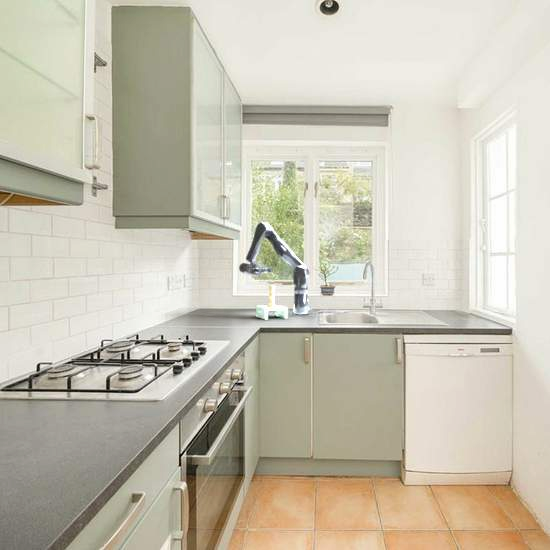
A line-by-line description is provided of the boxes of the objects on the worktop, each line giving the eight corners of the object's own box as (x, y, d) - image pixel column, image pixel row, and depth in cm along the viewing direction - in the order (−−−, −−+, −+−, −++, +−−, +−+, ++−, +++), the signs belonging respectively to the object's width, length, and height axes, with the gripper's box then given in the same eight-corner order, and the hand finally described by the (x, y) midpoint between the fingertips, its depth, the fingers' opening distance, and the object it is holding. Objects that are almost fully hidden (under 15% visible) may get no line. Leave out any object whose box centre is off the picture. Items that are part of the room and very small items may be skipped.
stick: (273, 306, 303) (273, 284, 302) (277, 307, 298) (277, 285, 297) (266, 306, 301) (266, 284, 300) (269, 307, 296) (270, 285, 295)
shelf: (277, 315, 309) (278, 305, 309) (287, 318, 297) (287, 307, 297) (256, 316, 302) (256, 306, 302) (264, 319, 290) (265, 308, 290)
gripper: (246, 264, 319) (255, 264, 305) (264, 264, 326) (274, 264, 311) (245, 275, 320) (255, 276, 305) (264, 274, 326) (274, 276, 312)
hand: (265, 270), depth 308 cm, fingers open, 8 cm apart
